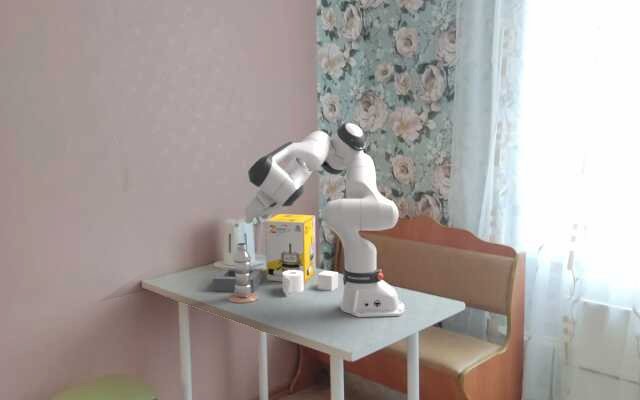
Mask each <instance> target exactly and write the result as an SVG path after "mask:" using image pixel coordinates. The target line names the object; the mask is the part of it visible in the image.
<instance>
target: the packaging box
mask: <svg viewBox="0 0 640 400" xmlns="http://www.w3.org/2000/svg"><path fill="white" fill-rule="evenodd" d="M265 249H266V250H265V252H266V254H265V255H266V257H265V258H266V281H268V282H282V273H283V272H284V271H288V270H299V271H302V272H303V282H304V284H305V283H306V282H308V281H309V279H310V278H312V276H314V274H316V272H317V268H316V267H317V266H316V263H317V262H316V259H317V257H316V215H311V214H293V213H292V214H289V213H278V214H276V215H275V216H273V217H270V218H269V219H267V220H265Z"/></svg>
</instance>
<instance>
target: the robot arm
mask: <svg viewBox="0 0 640 400" xmlns="http://www.w3.org/2000/svg"><path fill="white" fill-rule="evenodd" d="M365 139H366V137H365V134H364V131H363V130H362V128H361V127H360V126H359V125H357V124H356V123H353V122H343V124H341V125H340V126H339V127H338V128H337V129H336V132H335V133H334V134H333V136H332V137H331V136H330V135H329V134H328V133H326V131H325V132H324V131H322V130H316V131H313V132H311V133H310V134H308V135H307V136H305V137H304V139H302V140H301V141H300V142H294V141H287V142H286V143H284V144H282V145H280V146H279V147H278V148H276V149H274V150H273V151H271V152H270V153H267V154H266V155H264V156H261V157H260V158H258V159H257V160H254V162H253V163H252V164H251V166H250V167H249V169H248V171H247V172H248V180H249V182H250V183H251V184H252V185H253V186H256V187H257V188H259V189H260V190H258V191H257V192H256V193H255V195H256V196H255V197H253V198H252V200H251V201H250V202H249V203H248V204H247V205H246V207H245V208H244V210H243V211H244V214H245V216H246V218H245V220H244V222H245V223H246V224H247V225H248V224H251V223H252V222H253V221H254V220H253V219H255V218H261V219H262V220H265V219H267V218H268V217H269V216H271V215H272V214H273V213H276V212H280V211H281V210H283V209H284V208H285V207H291V206H293V205H294V204H295V202H296V200H298V199H299V198H300V197H301V196H302V195H303V194H304V185H305V183H306V181H307V180H308V179H309V177H310V176H311V174H312V172H314V171H317V170H318V169H319V168H320V167H321V168H322V169H323V170H324V171H325V172H326V173H328V174H330V175H335V176H336V175H340V174H342V173H343V172H344V171H345V170H346V173H345V193H346V196H347V197H348V198H338V199H333V200H332V199H331V200H329V201H328V202H327V203H326V204H325V206H324V208H323V211H322V212H323V213H322V217H323V222H324V223H325V225H326V226H327V227H328V228H329V229H330V230H331V231H333V232H334V233H335V234H336V235H337V237H338V238H339V240H340V242H341V243H342V244H341V245H342V248H343V252H344V253H343V254H344V255H343V256H344V268H343V272H342V281H343V292H342V293H343V294H342V298H341V303H340V306H339V308H340V310H341V311H342V312H345V313H347V314H350V315H353V316H354V317H356V318H373V317H374V318H376V317H399V316H402V315H403V314H404V313H405V304H404V303H403V302H402V301H401V300H399V296H398V295H399V294H398V292H397V290H396V289H395V288H394V287H393V286H392V285H390V284H389V283H388V282H386V281H385V280H383V279H384V274H383V271H382V269H381V268H377V257H378V256H377V255H378V254H377V252H378V251H377V247H376V246H375V244H374V243H373V242H371V241H370V240H368V239H366V238H363V237H362V236H361V235H360V234H359V232H360V231H368V232H370V231H372V232H373V231H377V232H379V231H384V230H389V229H393V228H395V226H396V225H397V223H398V221H399V218H400V217H399V215H400V213H399V209H398V207H397V205H396V203H395V201H393V200H390V199H389V198H386V197H385V196H384V195H382V194H381V192H380V191H379V190H378V187H377V173H376V167H375V164H374V161H373V159H372V157H371V156H370V155H368V154H366V153H364V150H365V149H366V148H367V144H366V142H365ZM281 162H283V163H286V165H285V166H284V167H283V168H282V167H281V166H280V165H279V163H281Z"/></svg>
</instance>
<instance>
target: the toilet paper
mask: <svg viewBox="0 0 640 400" xmlns="http://www.w3.org/2000/svg"><path fill="white" fill-rule="evenodd" d="M281 284H282V292H283V294H284V295H285V296H286V297H288V295H289V294H298V293H302V292H304V287H305V286H304V284H305V283H304V282H303V272H302V271H299V270H288V271H284V272H283V273H282V283H281Z"/></svg>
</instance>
